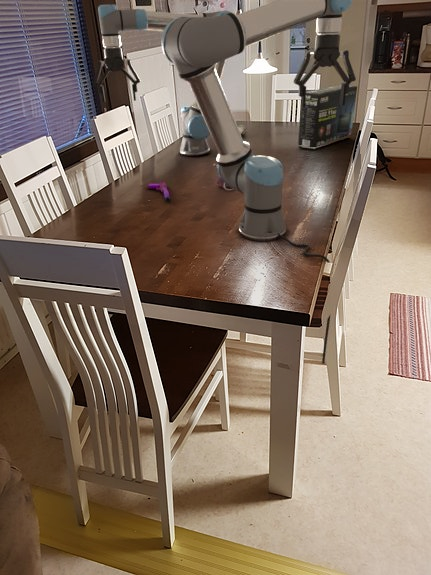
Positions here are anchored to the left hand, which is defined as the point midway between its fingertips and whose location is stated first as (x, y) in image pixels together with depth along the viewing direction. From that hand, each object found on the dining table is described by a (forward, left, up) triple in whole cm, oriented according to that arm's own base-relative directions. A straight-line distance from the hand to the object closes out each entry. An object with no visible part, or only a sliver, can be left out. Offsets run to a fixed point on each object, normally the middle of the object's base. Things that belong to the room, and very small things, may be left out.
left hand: (119, 101), depth 204 cm
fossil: (-41, +62, -30) cm, 80 cm away
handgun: (+43, +9, -30) cm, 53 cm away
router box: (-5, +105, -30) cm, 109 cm away
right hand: (+72, +63, +4) cm, 96 cm away
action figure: (+45, +35, -30) cm, 65 cm away
